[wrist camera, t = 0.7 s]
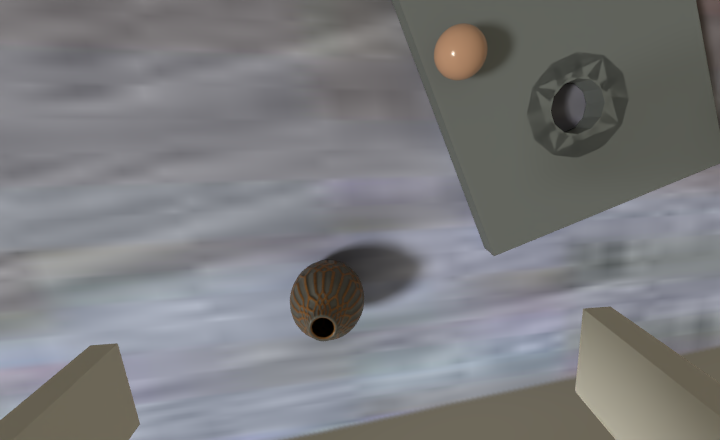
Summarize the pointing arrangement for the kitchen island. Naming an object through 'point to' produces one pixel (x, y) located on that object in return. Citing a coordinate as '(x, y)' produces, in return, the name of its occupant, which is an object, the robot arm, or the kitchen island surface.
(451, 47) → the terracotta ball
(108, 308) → the kitchen island surface
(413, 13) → the plate
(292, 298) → the vase
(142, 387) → the kitchen island surface
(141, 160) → the kitchen island surface
